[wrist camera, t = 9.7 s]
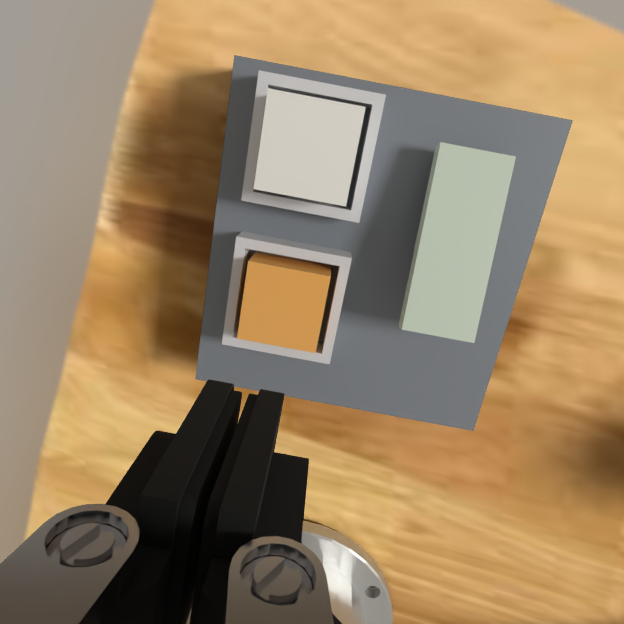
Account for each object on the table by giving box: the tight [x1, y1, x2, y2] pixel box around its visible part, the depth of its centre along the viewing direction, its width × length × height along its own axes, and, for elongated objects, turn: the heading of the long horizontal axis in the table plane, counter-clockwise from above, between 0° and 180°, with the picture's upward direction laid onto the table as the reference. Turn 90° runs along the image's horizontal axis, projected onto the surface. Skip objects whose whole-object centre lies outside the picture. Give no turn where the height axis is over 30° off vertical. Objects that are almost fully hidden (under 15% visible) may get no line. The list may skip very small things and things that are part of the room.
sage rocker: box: [398, 142, 516, 343], centre depth 19 cm, size 7×3×1 cm, turn 170°
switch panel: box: [195, 55, 573, 431], centre depth 22 cm, size 14×13×4 cm
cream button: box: [254, 88, 366, 206], centre depth 18 cm, size 3×3×2 cm
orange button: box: [237, 251, 331, 353], centre depth 21 cm, size 3×3×2 cm
